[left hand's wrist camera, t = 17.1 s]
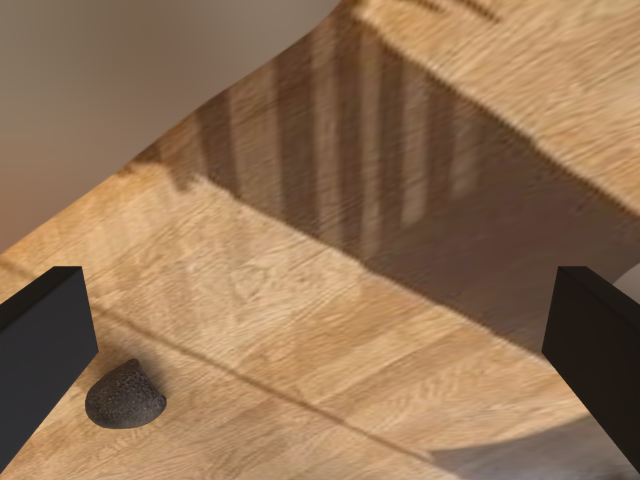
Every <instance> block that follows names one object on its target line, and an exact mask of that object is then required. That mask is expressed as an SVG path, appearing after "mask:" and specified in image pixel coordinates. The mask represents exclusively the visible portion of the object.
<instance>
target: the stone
mask: <svg viewBox="0 0 640 480" xmlns="http://www.w3.org/2000/svg"><path fill="white" fill-rule="evenodd" d="M165 407H166V397H164V396H163V395H160V394H159V393H158V392H157V391H156V390H155V388H154V387H153V386H152V384H151V382H150V381H149V380H148V378H147V377H146V375H145V374H144V372H143V371H142V369H141V367H140V363H139V361H138V360H137V359H132V360H129V361H128V362H126V363H125V364H123V365H122V366H120V367H119V368H117V369H116V370H114V371H111V372H109V373H108V374H106V375H105V376H104V377H103V378H101V379H100V380H99V381H98V382H97V383H96V384H94V385H93V386H92V387H91V389H90V390H89V391H88V393H87V396H86V400H85V409H86V413H87V415H88V417H89V418H90V419H91V420H92V421H93V422H94V423H95V424H97V425H99V426H101V427H103V428H110V429H130V428H135V427H139V426H143V425H145V424H148V423H150V422H151V421H153V420H154V419H155V418H157V417H158V416H159V415H160V414H161V413H162V412H163V410H164V409H165Z"/></svg>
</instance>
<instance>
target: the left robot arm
mask: <svg viewBox="0 0 640 480" xmlns="http://www.w3.org/2000/svg"><path fill="white" fill-rule="evenodd" d="M98 352H99V351H98V346H97V341H96V336H95V331H94V326H93V321H92V316H91V311H90V306H89V301H88V296H87V291H86V286H85V281H84V275H83V270H82V266H54V267H52V268H51V269H49V270H48V271H47V272H45V273H44V274H42V275H41V276H40V277H38V278H37V279H35V280H34V281H33V282H31V283H30V284H28V285H27V286H26V287H24V288H23V289H21V290H20V291H19V292H17V293H16V294H14V295H13V296H12V297H10V298H9V299H7V300H6V301H5V302H3V303H2V304H0V474H1V473H2V472H3V470H4V469H5V468H6V467H7V465H8V464H9V463H10V462H11V460H12V459H13V458H14V457H15V455H16V454H17V453H18V452H19V450H20V449H21V448H22V447H23V445H24V444H25V443H26V442H27V440H28V439H29V438H30V437H31V435H32V434H33V433H34V432H35V430H36V429H37V428H38V427H39V425H40V424H41V423H42V422H43V420H44V419H45V418H46V417H47V415H48V414H49V413H50V412H51V410H52V409H53V408H54V407H55V406H56V404H57V403H58V402H59V401H60V399H61V398H62V397H63V396H64V394H65V393H66V392H67V391H68V389H69V388H70V387H71V386H72V384H73V383H74V382H75V381H76V379H77V378H78V377H79V376H80V374H81V373H82V372H83V371H84V369H85V368H86V367H87V366H88V364H89V363H90V362H91V361H92V359H93V358H94V357H95V356H96V354H97V353H98ZM541 352H542V353H543V354H544V356H545V357H546V358H547V359H548V361H549V362H550V363H551V364H552V366H553V367H554V368H555V369H556V371H557V372H558V373H559V374H560V376H561V377H562V378H563V379H564V381H565V382H566V383H567V384H568V386H569V387H570V388H571V389H572V391H573V392H574V393H575V394H576V396H577V397H578V398H579V399H580V401H581V402H582V403H583V404H584V406H585V407H586V408H587V409H588V410H589V412H590V413H591V414H592V415H593V417H594V418H595V419H596V420H597V422H598V423H599V424H600V425H601V427H602V428H603V429H604V430H605V432H606V433H607V434H608V435H609V437H610V438H611V439H612V440H613V442H614V443H615V444H616V445H617V447H618V448H619V449H620V450H621V452H622V453H623V454H624V455H625V457H626V458H627V459H628V460H629V462H630V463H631V464H632V465H633V467H634V468H635V469H636V470H637V472H638V473H639V474H640V305H639V304H638V303H637V302H635V301H634V300H633V299H631V298H630V297H628V296H627V295H626V294H624V293H623V292H621V291H620V290H619V289H617V288H616V287H614V286H613V285H612V284H610V283H609V282H607V281H606V280H605V279H603V278H602V277H600V276H599V275H598V274H596V273H595V272H593V271H592V270H591V269H589V268H588V267H586V266H558V270H557V275H556V281H555V286H554V291H553V296H552V301H551V306H550V311H549V316H548V321H547V326H546V331H545V336H544V341H543V346H542V351H541Z"/></svg>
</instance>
